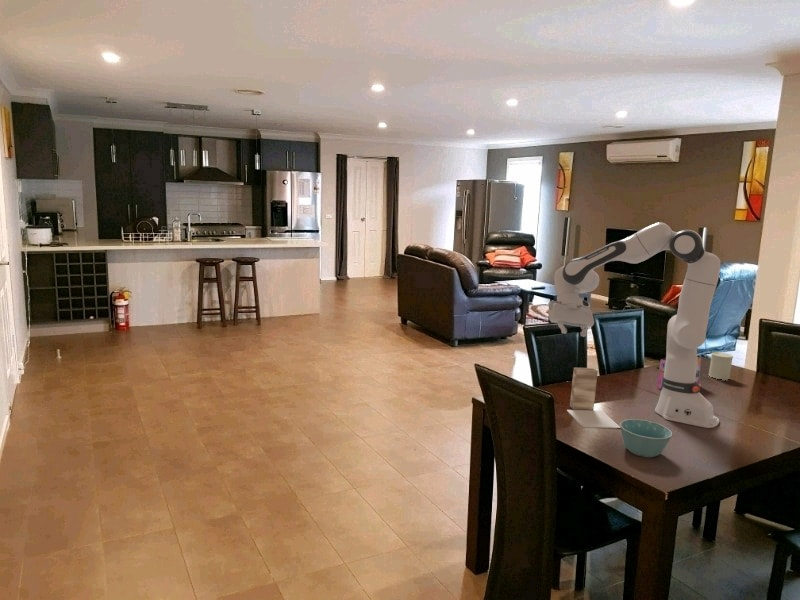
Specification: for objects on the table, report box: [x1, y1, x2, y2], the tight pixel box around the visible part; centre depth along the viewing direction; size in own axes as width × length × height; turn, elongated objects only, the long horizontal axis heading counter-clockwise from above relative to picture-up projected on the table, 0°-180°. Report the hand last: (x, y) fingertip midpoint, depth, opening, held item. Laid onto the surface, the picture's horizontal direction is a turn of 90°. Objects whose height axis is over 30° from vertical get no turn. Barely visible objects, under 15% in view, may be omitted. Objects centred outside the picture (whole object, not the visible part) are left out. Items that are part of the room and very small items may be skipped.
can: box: [708, 351, 734, 381], centre depth 284 cm, size 9×9×12 cm
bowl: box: [619, 418, 673, 458], centre depth 192 cm, size 16×16×8 cm
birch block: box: [569, 367, 598, 410], centre depth 230 cm, size 4×8×16 cm, turn 94°
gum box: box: [656, 356, 702, 390], centre depth 266 cm, size 24×8×14 cm, turn 127°
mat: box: [566, 409, 621, 429], centre depth 220 cm, size 17×14×1 cm
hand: (574, 334), depth 236 cm, fingers open, 8 cm apart
